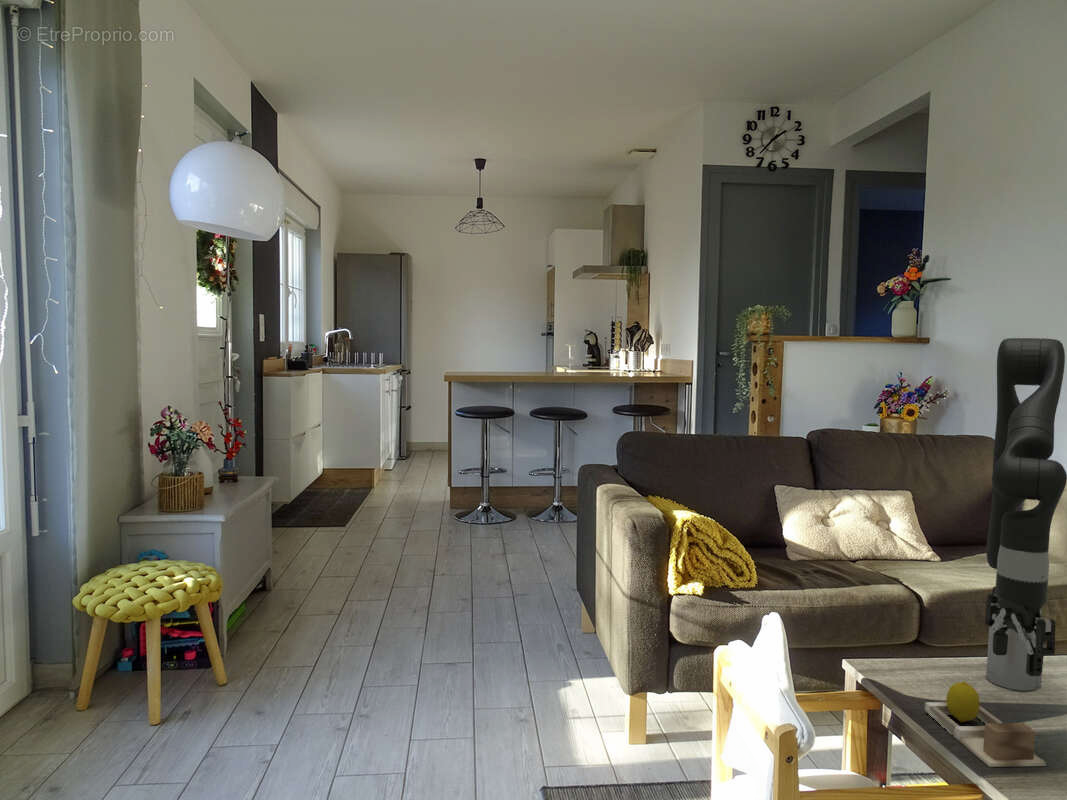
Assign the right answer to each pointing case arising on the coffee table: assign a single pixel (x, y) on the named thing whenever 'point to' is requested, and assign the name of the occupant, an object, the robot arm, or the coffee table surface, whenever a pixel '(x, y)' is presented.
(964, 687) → the lemon
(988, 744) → the white open frame tray
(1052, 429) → the robot arm
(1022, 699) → the coffee table surface
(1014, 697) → the coffee table surface
